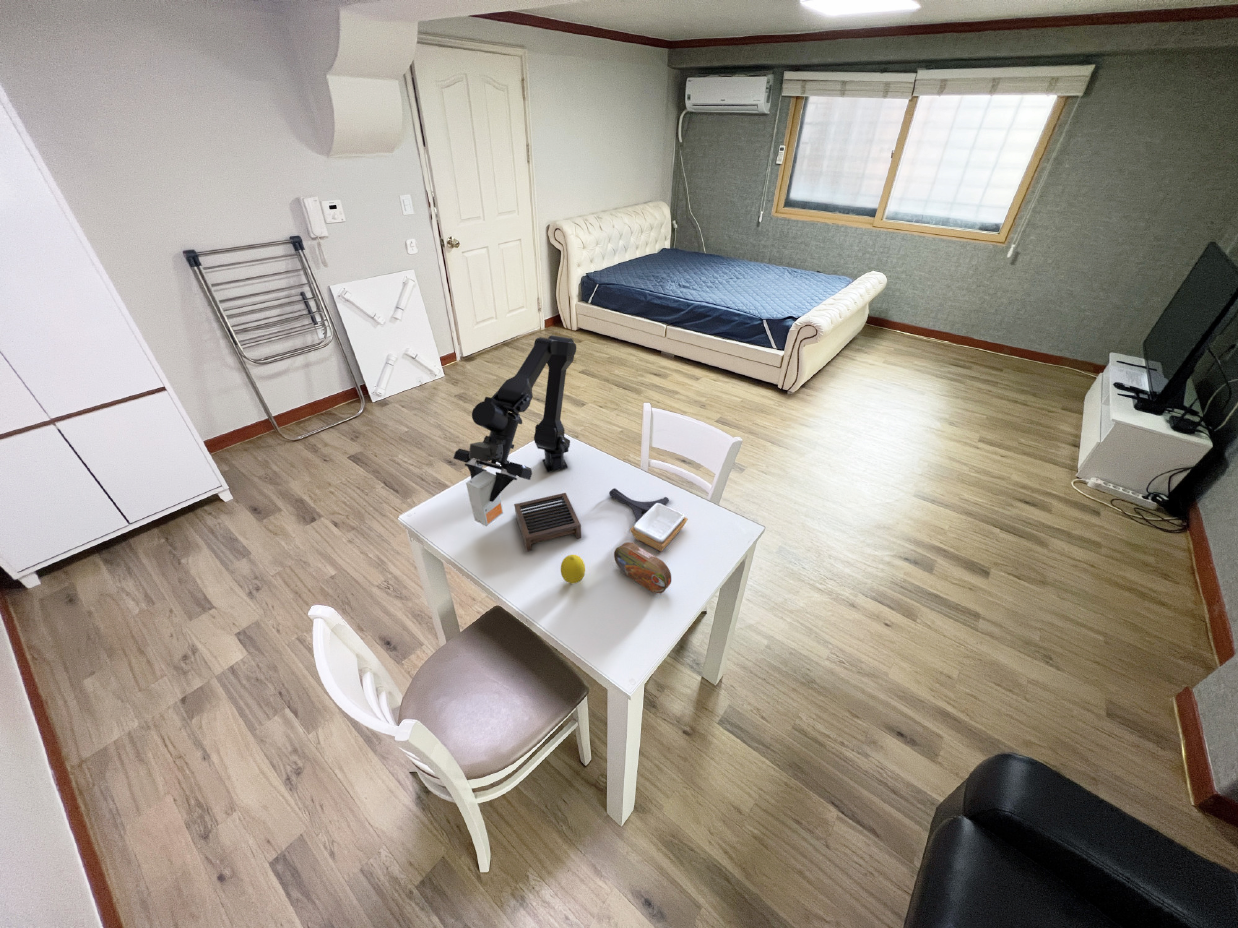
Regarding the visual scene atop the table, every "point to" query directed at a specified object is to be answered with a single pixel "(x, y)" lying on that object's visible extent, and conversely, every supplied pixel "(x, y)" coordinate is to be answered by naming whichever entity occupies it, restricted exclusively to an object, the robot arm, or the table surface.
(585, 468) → the table surface
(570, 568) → the lemon
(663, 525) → the soap dish
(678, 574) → the table surface
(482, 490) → the cosmetic box
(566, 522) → the shoe rack
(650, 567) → the tin
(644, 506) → the bracket
